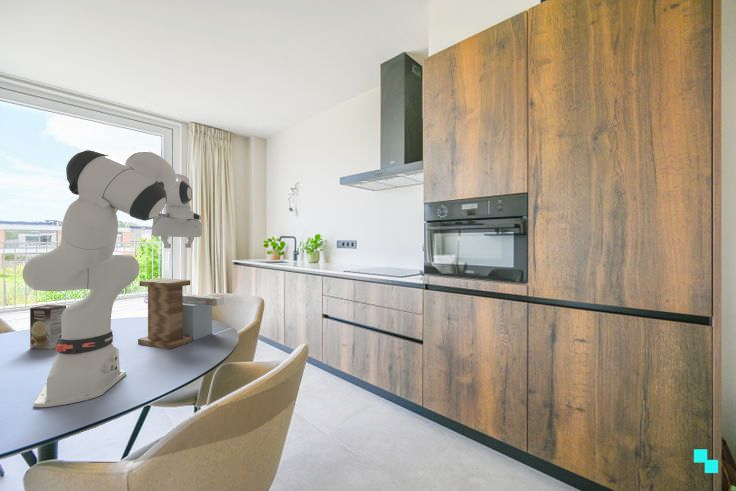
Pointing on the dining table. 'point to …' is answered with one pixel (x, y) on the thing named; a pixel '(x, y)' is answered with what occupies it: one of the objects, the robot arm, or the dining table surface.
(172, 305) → the walnut stand
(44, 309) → the coffee box
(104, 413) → the dining table surface
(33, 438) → the dining table surface
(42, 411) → the dining table surface
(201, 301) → the aluminium bar
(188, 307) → the block
